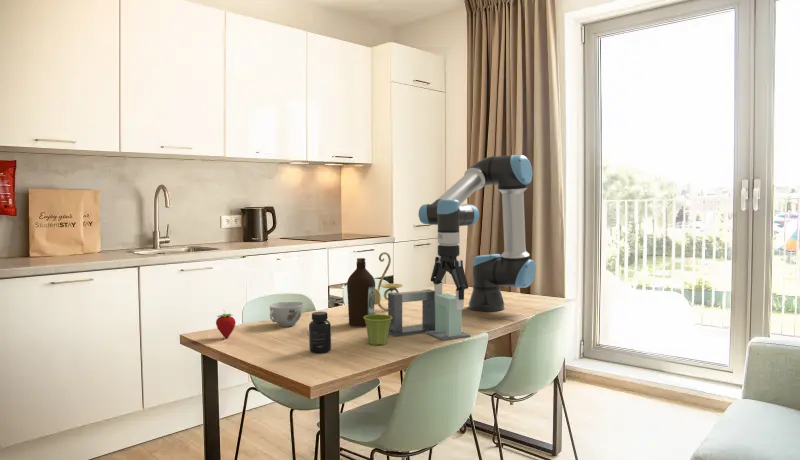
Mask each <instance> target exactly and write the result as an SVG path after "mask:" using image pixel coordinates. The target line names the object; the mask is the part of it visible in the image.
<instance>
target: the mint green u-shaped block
mask: <svg viewBox="0 0 800 460" xmlns="http://www.w3.org/2000/svg"><path fill="white" fill-rule="evenodd" d="M462 310H463V309H459V310H456V295H454V294H450V293H442V294H439V295H435V332H438V333H439V332H446V336H448V337H453V336H460V335H461V332H462V313H463V311H462Z"/></svg>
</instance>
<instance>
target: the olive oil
mask: <svg viewBox="0 0 800 460" xmlns="http://www.w3.org/2000/svg"><path fill="white" fill-rule="evenodd" d="M366 266H367V265H366V258H364V257H358V258H356V268H355V270H354V271H353V272H352V273H351V274H350V276H349V277H348V279H347V282H346V291H347V307H348V309H347V311H348V325H349V326H350V327H353V328H354V327H356V328H367V327H366V323H365V319H364V316H366V315H373V314H375V289H376V281H375V278H374V276H373V275H372V273H370V272H369V270H368V269H367V268H366Z"/></svg>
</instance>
